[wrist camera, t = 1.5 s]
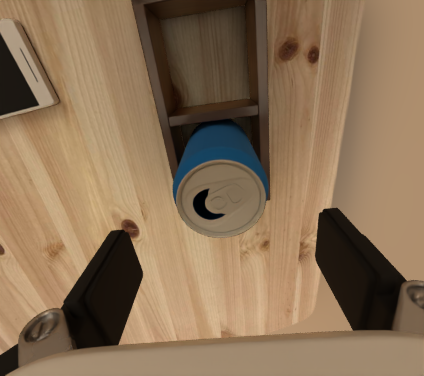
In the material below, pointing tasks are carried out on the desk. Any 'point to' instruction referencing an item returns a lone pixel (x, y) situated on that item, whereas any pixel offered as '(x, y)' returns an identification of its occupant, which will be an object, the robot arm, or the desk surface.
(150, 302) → the desk surface
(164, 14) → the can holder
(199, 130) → the beverage can
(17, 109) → the smartphone
